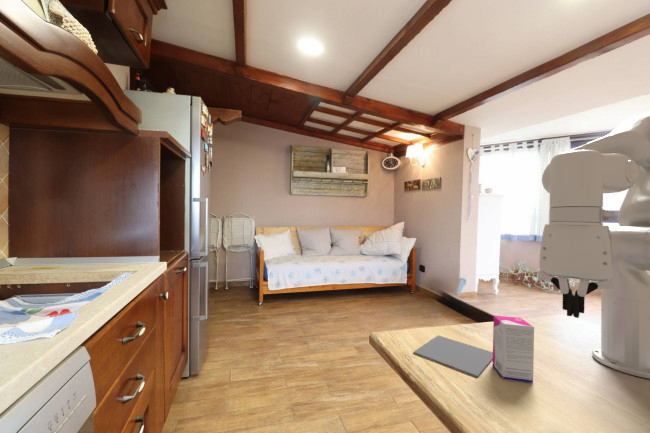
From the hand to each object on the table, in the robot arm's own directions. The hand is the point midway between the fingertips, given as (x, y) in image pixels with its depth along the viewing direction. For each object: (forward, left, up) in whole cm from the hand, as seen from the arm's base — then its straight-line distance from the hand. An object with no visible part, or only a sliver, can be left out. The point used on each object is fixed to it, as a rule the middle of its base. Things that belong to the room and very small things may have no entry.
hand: (573, 315), depth 52 cm
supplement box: (+10, -1, -15) cm, 18 cm away
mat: (+22, -1, -15) cm, 26 cm away
